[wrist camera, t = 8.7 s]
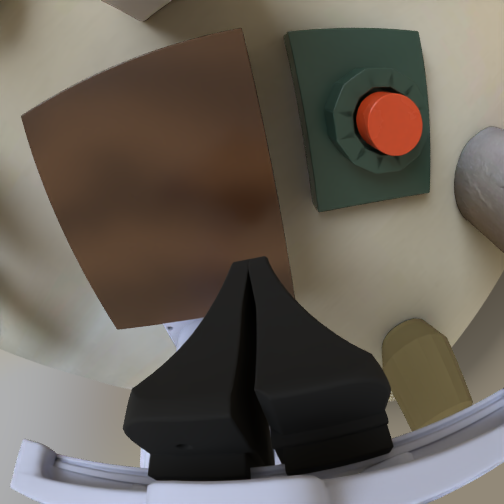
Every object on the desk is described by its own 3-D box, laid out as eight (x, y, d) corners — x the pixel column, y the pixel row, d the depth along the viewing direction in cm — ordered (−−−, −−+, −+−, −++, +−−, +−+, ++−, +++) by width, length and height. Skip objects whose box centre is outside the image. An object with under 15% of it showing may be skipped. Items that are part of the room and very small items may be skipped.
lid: (294, 294, 17) (295, 301, 17) (119, 323, 18) (117, 330, 18) (241, 30, 10) (241, 27, 10) (27, 114, 11) (20, 115, 10)
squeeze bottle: (420, 352, 32) (471, 472, 17) (364, 363, 32) (408, 500, 17) (443, 305, 28) (519, 437, 13) (383, 314, 28) (453, 475, 13)
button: (409, 146, 16) (423, 153, 15) (359, 152, 16) (370, 159, 15) (405, 90, 14) (420, 92, 13) (351, 92, 14) (364, 94, 13)
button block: (418, 185, 21) (442, 202, 18) (312, 203, 21) (325, 224, 18) (406, 33, 14) (433, 29, 12) (283, 35, 15) (293, 26, 12)
